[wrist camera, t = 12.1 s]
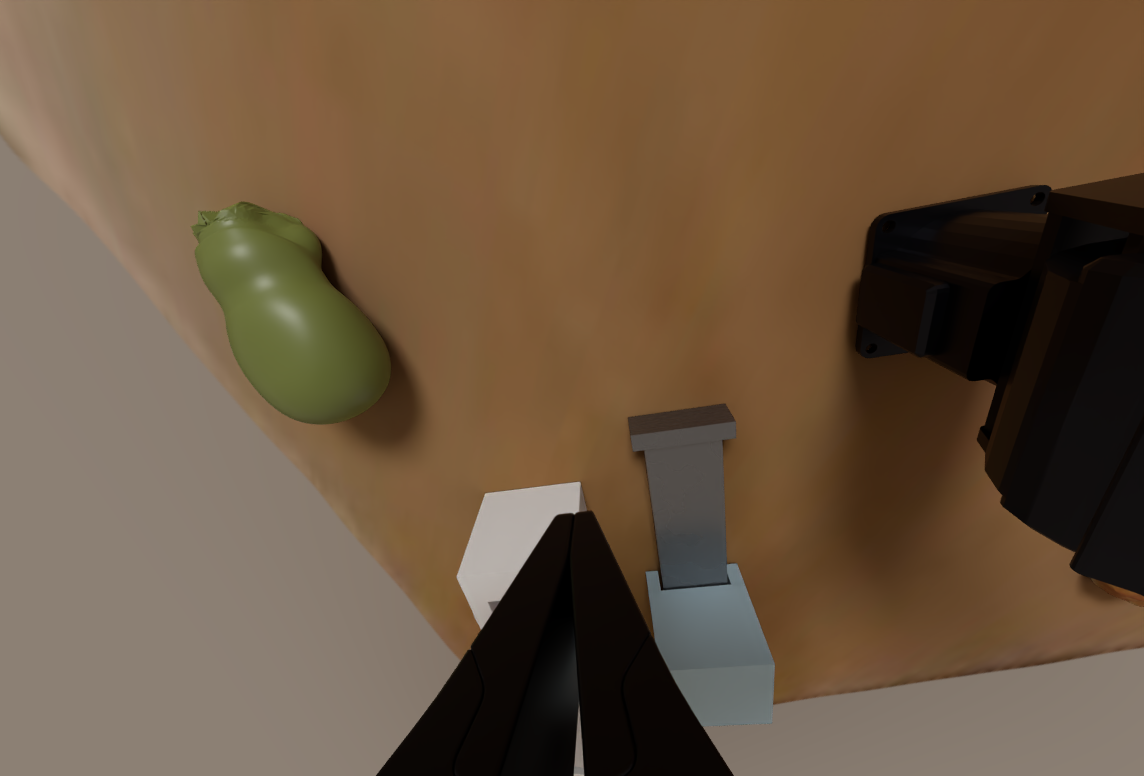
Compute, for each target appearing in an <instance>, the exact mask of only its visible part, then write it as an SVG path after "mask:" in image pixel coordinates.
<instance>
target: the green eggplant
mask: <svg viewBox="0 0 1144 776" xmlns="http://www.w3.org/2000/svg"><path fill="white" fill-rule="evenodd" d="M191 228H192V230H193V231H194V233H193V234H194V236H195V237H196V239H197V240H198V242H199V245H198V246H197V247H196V249H195V258H196V261H197V265H198V268H199V272H200V274H201V277H202V279H203V281H204V283H205V285H206V286H207V288H208V289H209V291H210V292H211V293H212V295H213V296H214V297H215V298H216V300H217V301H218V303H219V304H220V306H221V308H222V310H223V312H224V316H225V321H226V329H227V335H228V339H229V343H230V346H231V349H232V352H233V354H234V356H235V358H236V361H237V362H238V364H239V366H240V368H241V370H242V371H243V373H244V374H245V376H246V377H247V379H248V380H249V382H250V383H251V384H252V385H253V387H254V388H255V389H256V390H257V391H258V393H259V394H260V395H261V396H262V397H263V398H264V399H265V400H266V401H267V402H268V403H269V404H270V405H272V406H273V407H274V408H275V409H277V410H278V411H279V412H281V413H282V414H284V415H286V416H288V417H290V418H292V419H294V420H297V421H300V422H304V423H309V424H333V423H338V422H342V421H345V420H348V419H351V418H353V417H356V416H358V415H359V414H361V413H363V412H365V411H366V410H367V409H369V408H370V407H371V406H373V405H374V404H375V403H376V402H377V401H378V400H379V399H380V397H381V396H382V395H383V393H384V392H385V390H386V388H387V386H388V383H389V380H390V375H391V361H390V356H389V353H388V350H387V347H386V345H385V343H384V341H383V339H382V338H381V336H380V335H379V333H378V332H377V330H376V329H375V328H374V326H373V325H372V323H371V322H370V321H369V320H368V318H367V317H366V316H365V315H364V314H363V313H362V312H361V311H360V310H359V308H358V307H356V306H355V305H354V304H353V303H352V302H351V301H350V300H349V299H348V298H346V297H345V296H344V295H343V294H341V293H340V292H339V291H338V290H336V289H335V288H334V287H333V286H332V285H331V283H330V282H329V281H328V279H327V278H326V276H325V275H324V273H323V272H322V269H321V264H322V249H321V244H320V241H319V239H318V238H317V236H316V235H315V234H314V233H313V232H312V231H311V230H310V229H308V228H307V227H305V226H303V224H302V223H301V221H300V220H299V219H298V218H294V217H291V216H288V215H286V214H283V213H275V212H271V211H269V210H267V209H264V208H262V207H260V206H257V205H255V204H252V203H249V202H239V203H237V204H234V205H232V206H230V207H227V208H225V209H223V210H221V211H219V212H216V213H215V211H214V212H213V211H212V212H211V211H209V212H208V211H207V212H206V211H202V212H201V211H198V224H195V225H193V226H191Z"/></svg>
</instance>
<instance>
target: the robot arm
mask: <svg viewBox="0 0 1144 776" xmlns="http://www.w3.org/2000/svg"><path fill="white" fill-rule="evenodd" d="M1034 195H1035V199H1034V201H1033V202H1032V203H1031V204H1030V200H1031V198H1032V197H1033V196H1034ZM1047 212H1049V213H1048V214H1047ZM887 221H889V227H888V229H887V230H886V231H884V232H883V230H882V227H883V225H884V224H885V222H887ZM856 322H857V323H858V331H857V339H856V352H857V353H858V354H860V355H861V356H863V357H865V358H875V357H881V356H888V355H895V354H902V353H908V352H909V353H911V354H913V355H915V356H917V357H920V358H921V357H926V358H928V359H929V360H931V361H933V362H935V363H937V364H939V365H941V366H943V367H945V368H946V369H948V370H950V371H952V372H954V373H956V374H958V375H960V376H962V377H963V378H965V379H967V380H969V381H979V380H986V381H987V382H989V383H991V384H993V385H995V386H996V390H995V393H994V396H993V400H992V403H991V406H990V410H989V413H988V416H987V420H986V423H985V426H981V427H980V430H979V433H978V437H977V441H978V443H979V444H980V446H981V447H982V449H983V450H984V451H985V472H986V473H987V475H988V476H989V478H990V479H991V481H992V482H993V484H994V485H995V487H996V488H997V490H998V491H999V492H1000V493H1001V494H1002V497H1001V501H1000V503H1001V505H1002V506H1003V507H1004V508H1005V509H1007V510H1008V511H1009V512H1011V513H1012V514H1013V515H1014V516H1016V517H1017V518H1018V519H1019V520H1021V521H1022V522H1023V523H1025V524H1026V525H1027V526H1029V527H1030V528H1031V529H1033V530H1035V531H1037V532H1038V533H1040V534H1042V535H1043V536H1045V537H1047V538H1049V539H1050V540H1052V541H1054V542H1055V543H1057V544H1059V545H1061V546H1062V547H1065V548H1067V549H1069V550H1071V551H1073V552H1075V554H1074V556H1073V558H1072V560H1071V562H1070V564H1069V565H1070V568H1072V569H1073V570H1074V571H1075V572H1077V573H1079V574H1081V575H1084V576H1087V577H1090V578H1093V579H1096V580H1099V581H1102V582H1105V583H1108V584H1111V585H1113V586H1116V587H1119V588H1122V589H1125V590H1128V591H1131V592H1134V593H1137V594H1140V595H1142V596H1144V173H1141V174H1135V175H1130V176H1125V177H1119V178H1114V179H1109V180H1104V181H1098V182H1093V183H1088V184H1082V185H1077V186H1072V187H1066V188H1061V189H1056V190H1052V189H1051V187H1049V186H1047V185H1030V186H1025V187H1020V188H1015V189H1009V190H1004V191H999V192H994V193H988V194H983V195H978V196H972V197H967V198H962V199H957V200H951V201H946V202H941V203H936V204H930V205H925V206H920V207H915V208H909V209H904V210H899V211H894V212H888V213H884V214H881V215H879V216H878V217H876V218H875V219H874V221H873V222H872V224H871V227H870V233H869V242H868V250H867V258H866V266H865V268H864V269H863V270H862V275H861V284H860V292H859V300H858V309H857V317H856ZM870 344H872V347H871V348H870V349H869V350H866V348H867V346H868V345H870ZM579 708H580V722H581V737H582V751H583V766H584V776H734V775H733V774H732V772H731V771H730V769H729V768H728V766H727V764H726V763H725V761H724V760H723V758H722V757H721V755H720V753H719V752H718V750H717V749H716V747H715V745H714V744H713V743H712V741H711V739H710V738H709V736H708V734H707V733H706V732H705V730H704V728H703V727H702V725H701V723H700V722H699V720H698V719H697V717H696V716H695V714H694V712H693V711H692V709H691V707H690V706H689V704H688V702H687V701H686V699H685V697H684V696H683V694H682V692H681V691H680V689H679V687H678V685H677V684H676V682H675V680H674V678H673V676H672V674H671V672H670V670H669V669H668V667H667V665H666V663H665V661H664V659H663V657H662V655H661V653H660V651H659V649H658V647H657V644H656V642H655V640H654V638H653V637H652V636H651V632H650V630H649V628H648V626H647V624H646V622H645V620H644V618H643V615H642V613H641V611H640V609H639V607H638V605H637V603H636V601H635V599H634V597H633V594H632V592H631V590H630V588H629V586H628V584H627V582H626V580H625V578H624V576H623V574H622V571H621V569H620V567H619V565H618V563H617V561H616V559H615V557H614V555H613V553H612V550H611V548H610V546H609V544H608V542H607V540H606V538H605V536H604V534H603V532H602V529H601V527H600V525H599V523H598V521H597V519H596V517H595V515H594V513H593V512H592V511H582V512H576V513H575V515H574V514H573V513H564V514H558V515H556V516H555V517H554V519H553V520H552V522H551V523H550V525H549V526H548V528H547V529H546V531H545V532H544V534H543V536H542V537H541V539H540V540H539V542H538V543H537V545H536V546H535V548H534V549H533V551H532V552H531V554H530V556H529V557H528V559H527V560H526V562H525V563H524V565H523V566H522V568H521V569H520V571H519V572H518V574H517V576H516V577H515V579H514V580H513V582H512V583H511V585H510V586H509V588H508V589H507V591H506V592H505V594H504V596H503V597H502V599H501V600H500V602H499V603H498V605H497V606H496V608H495V609H494V611H493V612H492V614H491V616H490V617H489V619H488V620H487V622H486V623H485V625H484V626H483V628H482V629H481V631H480V632H479V634H478V636H477V637H476V639H475V640H474V642H473V643H472V645H471V649H469V650H468V651H467V652H466V654H465V655H464V657H463V658H462V660H461V661H460V663H459V664H458V666H457V668H456V669H455V670H454V672H453V673H452V675H451V676H450V678H449V679H448V681H447V682H446V684H445V685H444V687H443V688H442V690H441V691H440V692H439V694H438V695H437V697H436V698H435V699H434V701H433V702H432V703H431V705H430V706H429V707H428V709H427V710H426V711H425V713H424V714H423V715H422V717H421V718H420V720H419V721H418V722H417V723H416V725H415V726H414V727H413V729H412V730H411V731H410V733H409V734H408V735H407V736H406V738H405V739H404V740H403V742H402V743H401V744H400V745H399V747H398V748H397V749H396V751H395V752H394V753H393V755H392V756H391V757H390V758H389V760H388V761H387V762H386V763H385V765H384V766H383V767H382V769H381V770H380V771H379V773H378V774H377V775H376V776H574V765H575V751H576V737H577V723H578V709H579Z"/></svg>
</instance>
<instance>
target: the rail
mask: <svg viewBox="0 0 1144 776" xmlns="http://www.w3.org/2000/svg"><path fill="white" fill-rule="evenodd" d="M628 422H629V429H630V435H631V442H632V448H633V452H634V451H642V450H644V456H645V464H646V471H647V478H648V485H649V492H650V499H651V506H652V513H653V520H654V527H655V535H656V542H657V549H658V556H659V563H660V570H661V577H662V584H663V590H674V589H685V588H697V587H708V586H720V585H728V584H727V556H726V528H725V500H724V473H723V445H722V440H726V439H733V438H736V421H735V419H734V418H733V416H732V414H731V413H730V411H729V409H728V407H727V406H726V404H719V405H712V406H705V407H698V408H691V409H684V410H677V411H670V412H663V413H656V414H649V415H642V416H635V417H628Z"/></svg>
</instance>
